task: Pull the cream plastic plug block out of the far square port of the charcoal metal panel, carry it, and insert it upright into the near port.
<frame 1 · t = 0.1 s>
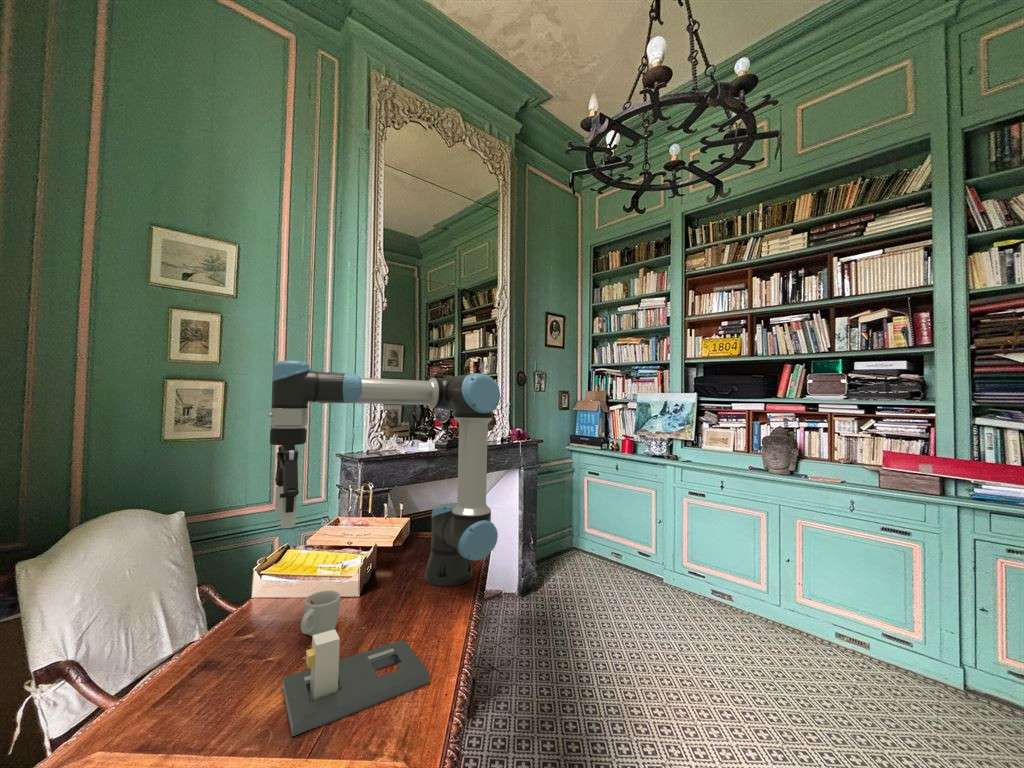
hand: (284, 519, 94), 28 cm above the table, fingers open, 13 cm apart
plug: (323, 698, 76), resting in panel
panel: (356, 685, 79), on the table
cup: (317, 635, 97), on the table
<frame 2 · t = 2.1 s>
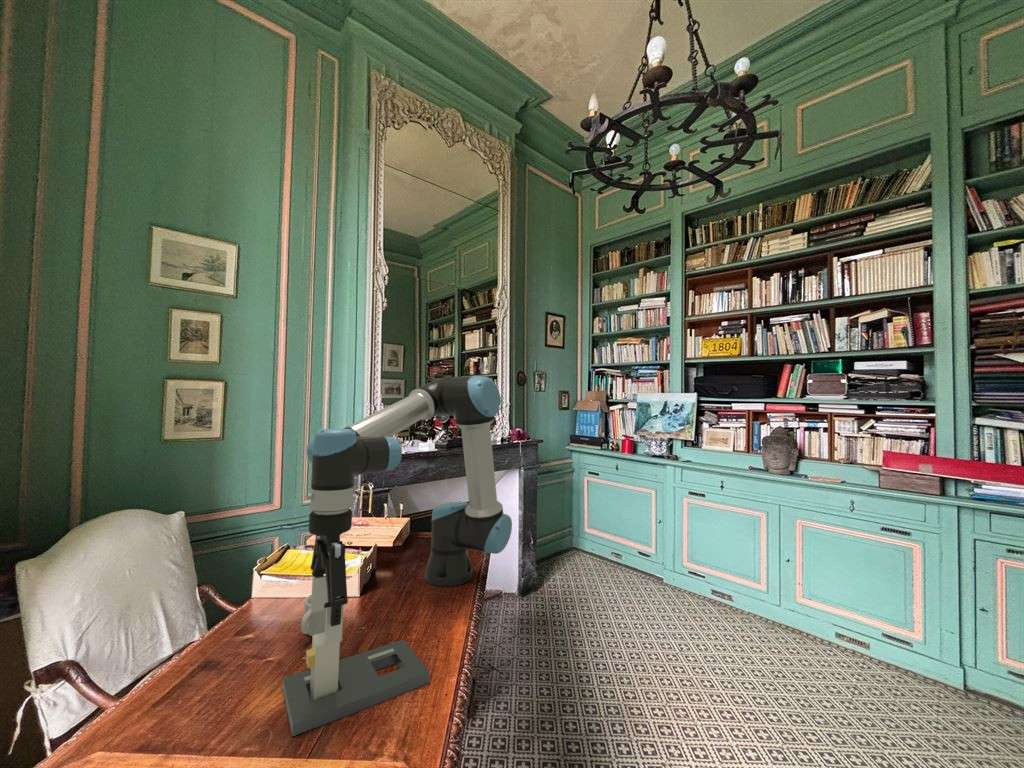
hand: (325, 625, 77), 13 cm above the table, fingers open, 13 cm apart
nothing on the table moved.
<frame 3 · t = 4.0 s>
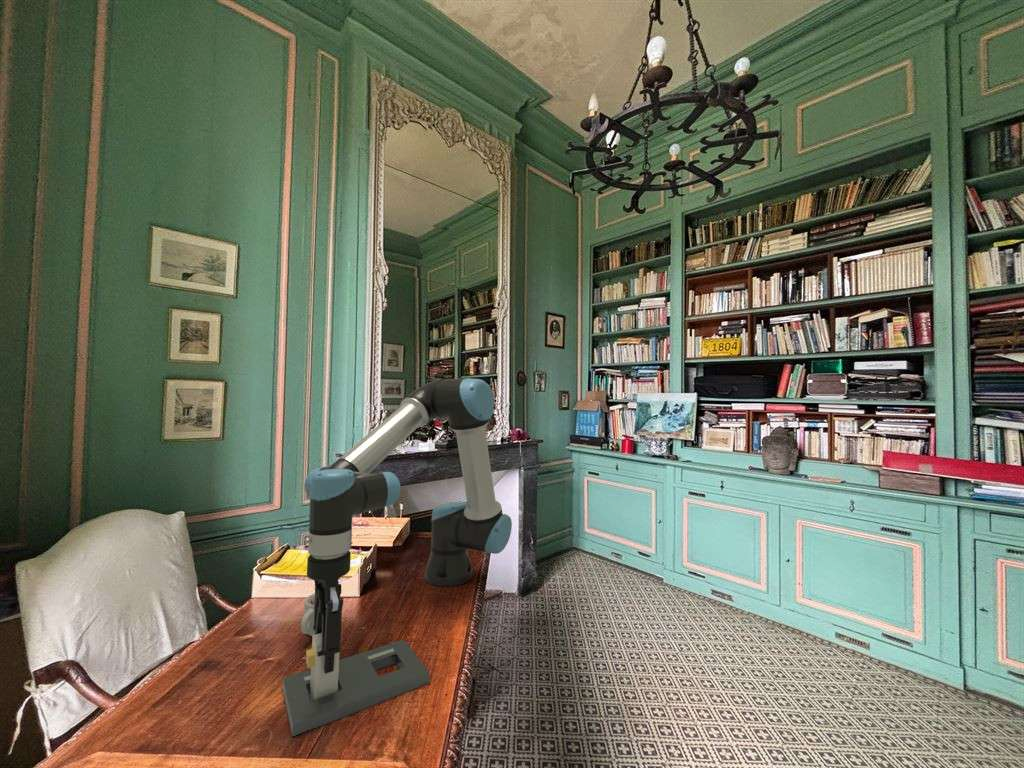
hand: (324, 680, 76), 3 cm above the table, fingers closed on plug, 4 cm apart
plug: (323, 698, 76), resting in panel, touching gripper
everything else where it was.
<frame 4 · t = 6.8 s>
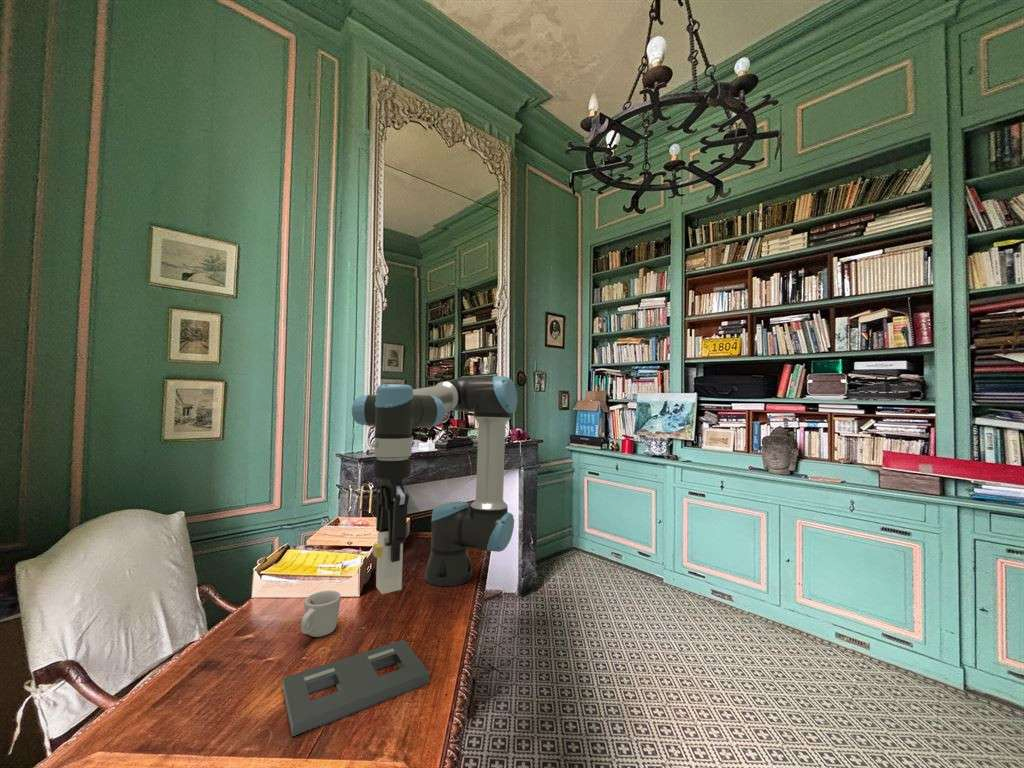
hand: (389, 572, 84), 20 cm above the table, fingers closed on plug, 4 cm apart
plug: (388, 588, 84), point 17 cm above the table, touching gripper
everything else where it was.
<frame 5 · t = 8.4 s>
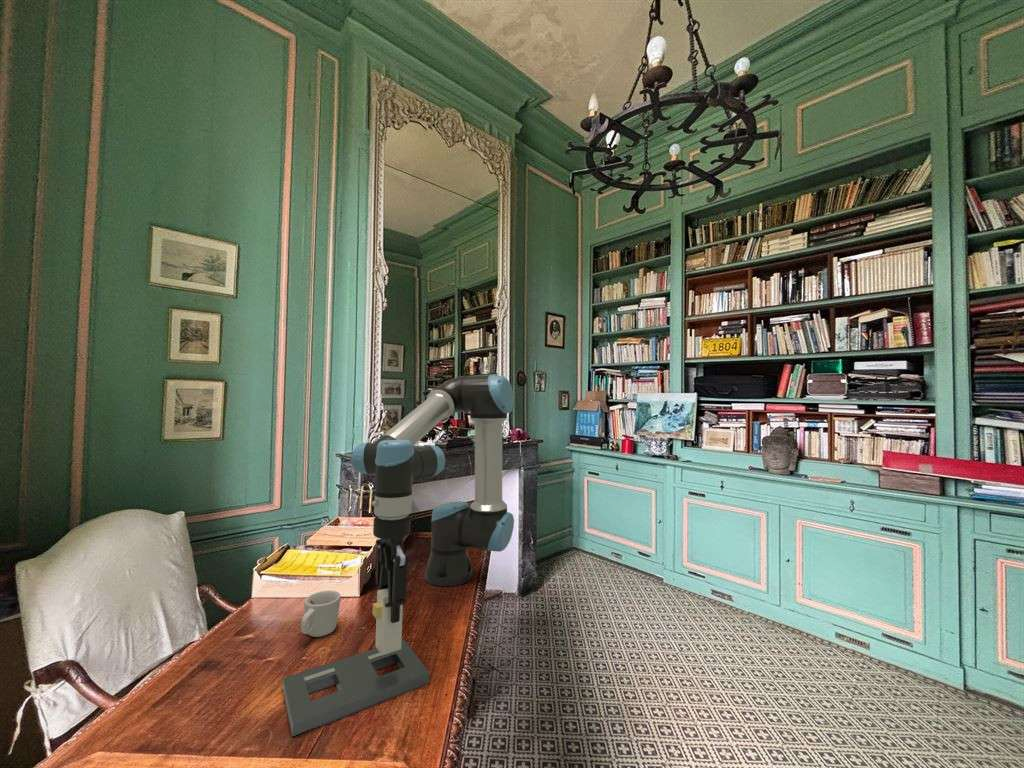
hand: (388, 631, 83), 9 cm above the table, fingers closed on plug, 4 cm apart
plug: (388, 647, 83), point 5 cm above the table, touching gripper
everything else where it was.
when the fingers open (4 cm above the table, at t = 9.5 s): plug stays where it is, resting in panel.
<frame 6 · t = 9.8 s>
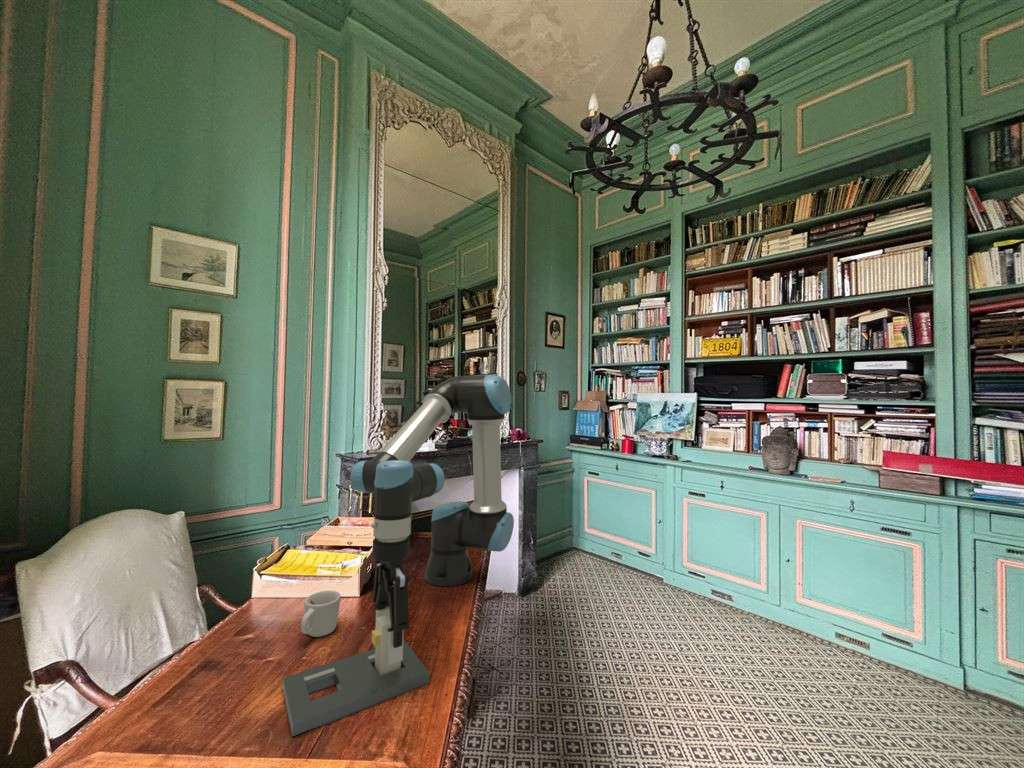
hand: (388, 650, 83), 5 cm above the table, fingers open, 8 cm apart
plug: (387, 674, 83), resting in panel
everything else where it was.
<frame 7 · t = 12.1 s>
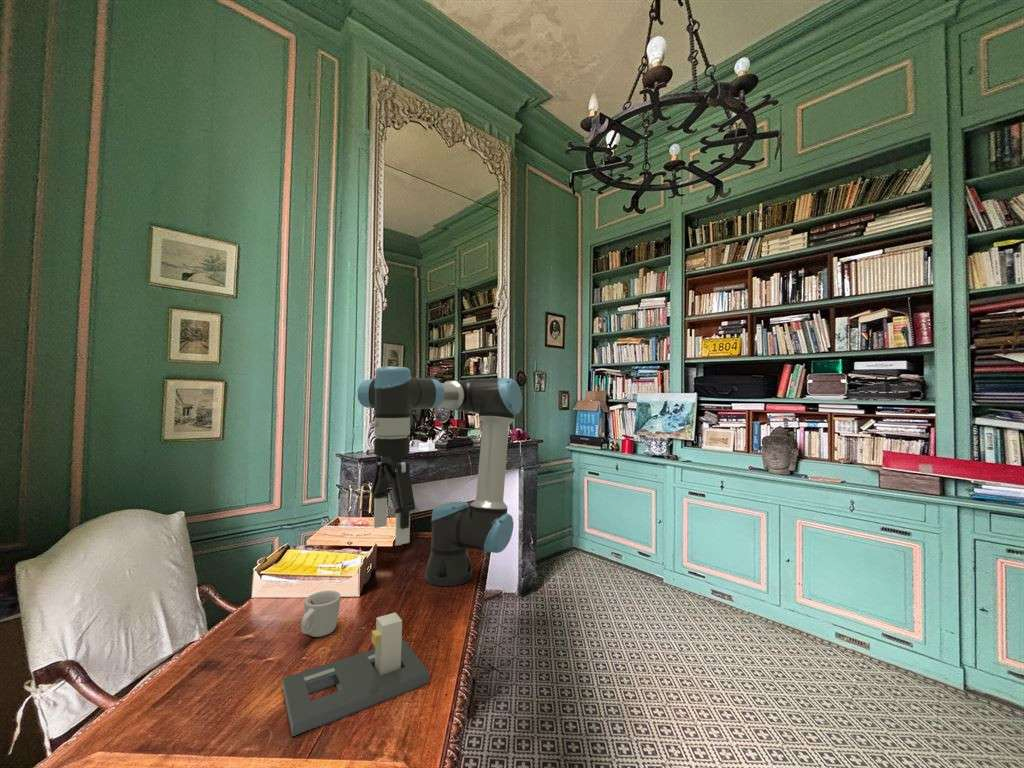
hand: (390, 534, 89), 27 cm above the table, fingers open, 13 cm apart
nothing on the table moved.
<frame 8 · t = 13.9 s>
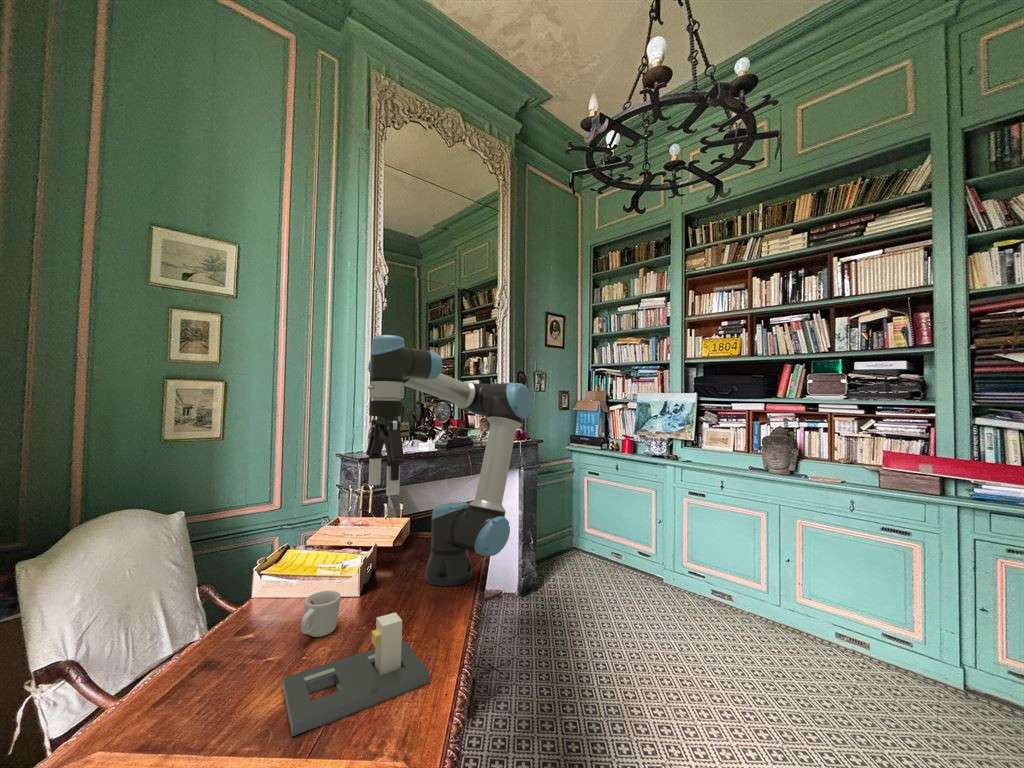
hand: (383, 489, 97), 35 cm above the table, fingers open, 13 cm apart
nothing on the table moved.
at the end: plug 0.0 cm from the target spot on the panel, point 0.0 cm above the panel's base; plug tilted 0°; the gripper is holding nothing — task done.
